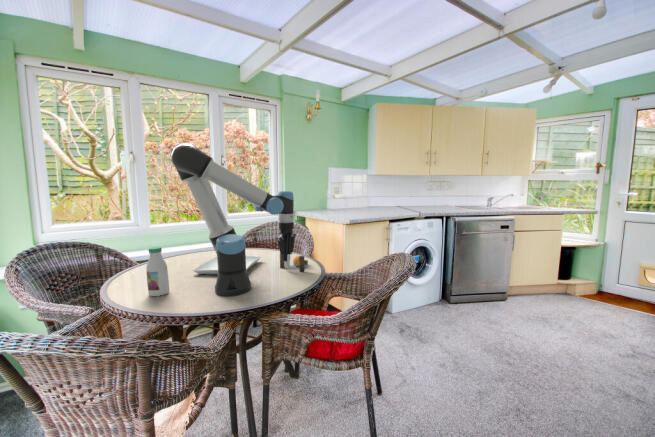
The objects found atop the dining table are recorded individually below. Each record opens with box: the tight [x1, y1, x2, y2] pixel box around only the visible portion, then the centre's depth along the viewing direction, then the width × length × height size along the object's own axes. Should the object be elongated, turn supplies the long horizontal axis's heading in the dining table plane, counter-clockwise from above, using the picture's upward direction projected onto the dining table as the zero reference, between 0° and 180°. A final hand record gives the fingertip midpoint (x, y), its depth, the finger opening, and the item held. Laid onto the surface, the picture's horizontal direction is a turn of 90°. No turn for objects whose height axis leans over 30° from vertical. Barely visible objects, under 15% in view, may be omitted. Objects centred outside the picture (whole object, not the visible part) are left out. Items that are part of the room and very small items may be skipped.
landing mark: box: [287, 264, 309, 271], centre depth 160 cm, size 8×8×1 cm
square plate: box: [192, 255, 262, 275], centre depth 158 cm, size 27×27×4 cm
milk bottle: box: [145, 246, 170, 297], centre depth 123 cm, size 8×8×20 cm
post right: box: [298, 255, 306, 273], centre depth 151 cm, size 3×3×8 cm
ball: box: [292, 255, 300, 267], centre depth 159 cm, size 6×6×6 cm
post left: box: [279, 253, 286, 269], centre depth 158 cm, size 3×3×8 cm
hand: (287, 266), depth 151 cm, fingers closed
